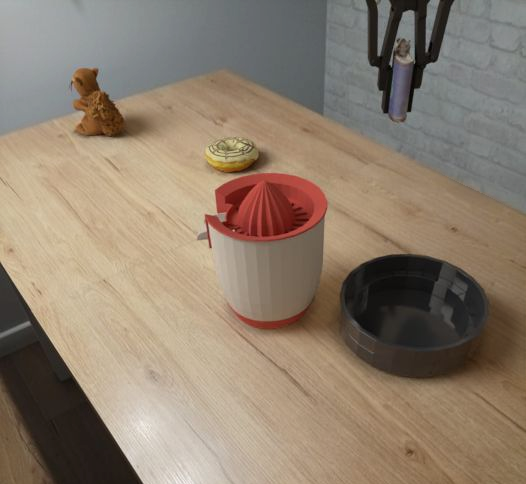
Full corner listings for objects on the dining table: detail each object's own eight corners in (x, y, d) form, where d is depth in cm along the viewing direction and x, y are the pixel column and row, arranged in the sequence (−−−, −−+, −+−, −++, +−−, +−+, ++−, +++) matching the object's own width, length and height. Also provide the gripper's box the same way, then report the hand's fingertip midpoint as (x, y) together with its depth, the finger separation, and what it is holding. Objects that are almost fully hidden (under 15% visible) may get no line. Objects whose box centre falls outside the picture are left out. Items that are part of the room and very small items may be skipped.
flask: (407, 123, 82) (417, 48, 74) (388, 123, 82) (396, 49, 75) (402, 99, 88) (411, 29, 81) (384, 100, 89) (392, 29, 81)
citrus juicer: (220, 267, 84) (203, 148, 69) (327, 273, 81) (333, 152, 67) (196, 335, 74) (170, 213, 59) (318, 345, 71) (323, 220, 56)
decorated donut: (268, 163, 107) (267, 145, 104) (225, 180, 103) (223, 162, 100) (240, 145, 113) (238, 128, 110) (198, 161, 109) (195, 144, 106)
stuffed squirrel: (108, 115, 127) (92, 57, 117) (140, 132, 120) (126, 71, 110) (72, 129, 123) (52, 69, 113) (102, 147, 115) (85, 85, 106)
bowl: (458, 280, 79) (467, 251, 75) (496, 377, 66) (509, 348, 62) (332, 285, 80) (334, 256, 75) (344, 381, 66) (347, 353, 62)
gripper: (360, -62, 66) (349, 122, 83) (488, -72, 65) (450, 116, 82) (354, -73, 71) (344, 103, 88) (473, -81, 70) (440, 97, 87)
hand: (395, 109), depth 85 cm, fingers closed on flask, 3 cm apart
